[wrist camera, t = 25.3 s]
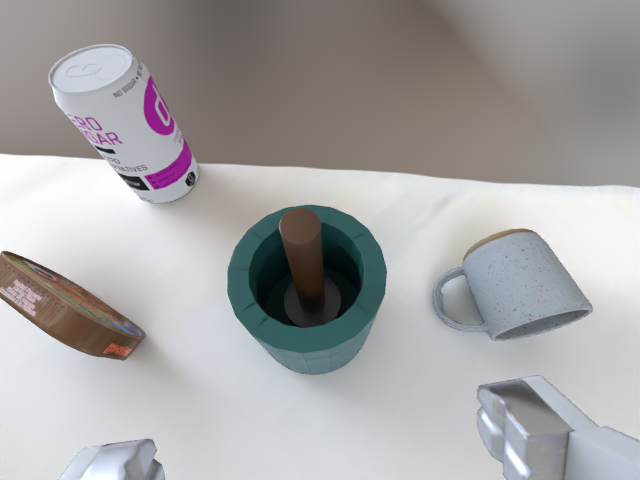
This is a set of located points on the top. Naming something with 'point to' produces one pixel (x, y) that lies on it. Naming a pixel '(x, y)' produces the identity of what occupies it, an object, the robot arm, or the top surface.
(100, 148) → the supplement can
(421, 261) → the top surface
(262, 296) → the teal pen holder
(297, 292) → the dish brush
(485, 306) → the ceramic mug
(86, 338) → the tin
